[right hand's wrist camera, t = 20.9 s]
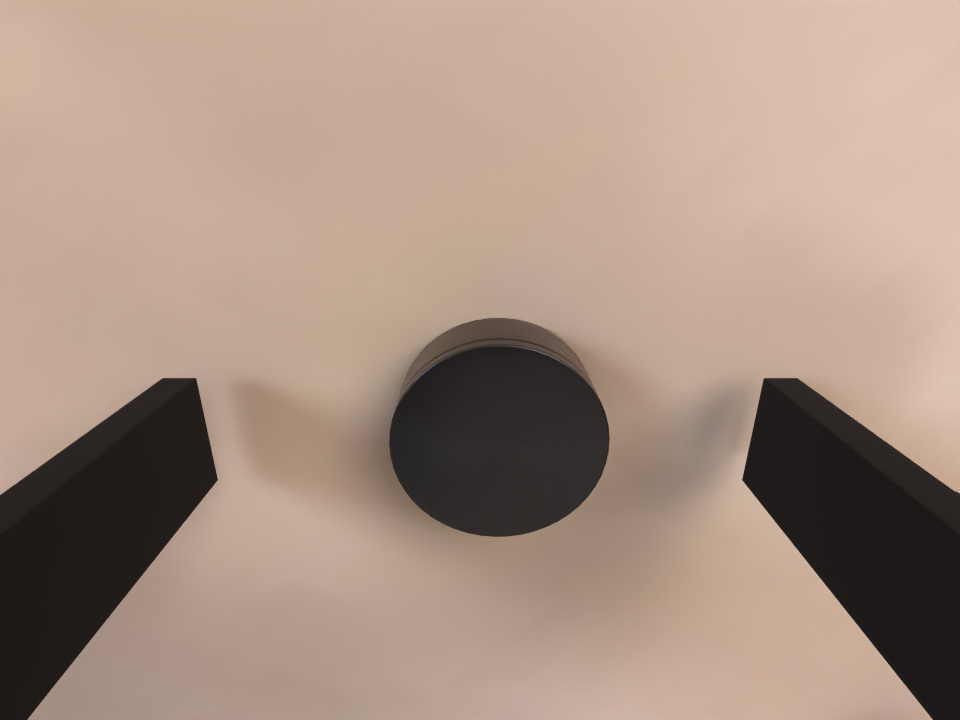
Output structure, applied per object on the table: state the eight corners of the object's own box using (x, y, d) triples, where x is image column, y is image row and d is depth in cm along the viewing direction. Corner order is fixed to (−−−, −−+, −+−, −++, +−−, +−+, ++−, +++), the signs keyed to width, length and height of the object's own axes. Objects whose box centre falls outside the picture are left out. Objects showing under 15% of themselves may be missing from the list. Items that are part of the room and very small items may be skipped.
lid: (559, 288, 12) (572, 311, 10) (614, 457, 14) (634, 502, 12) (369, 356, 13) (351, 389, 11) (443, 510, 14) (438, 560, 13)
